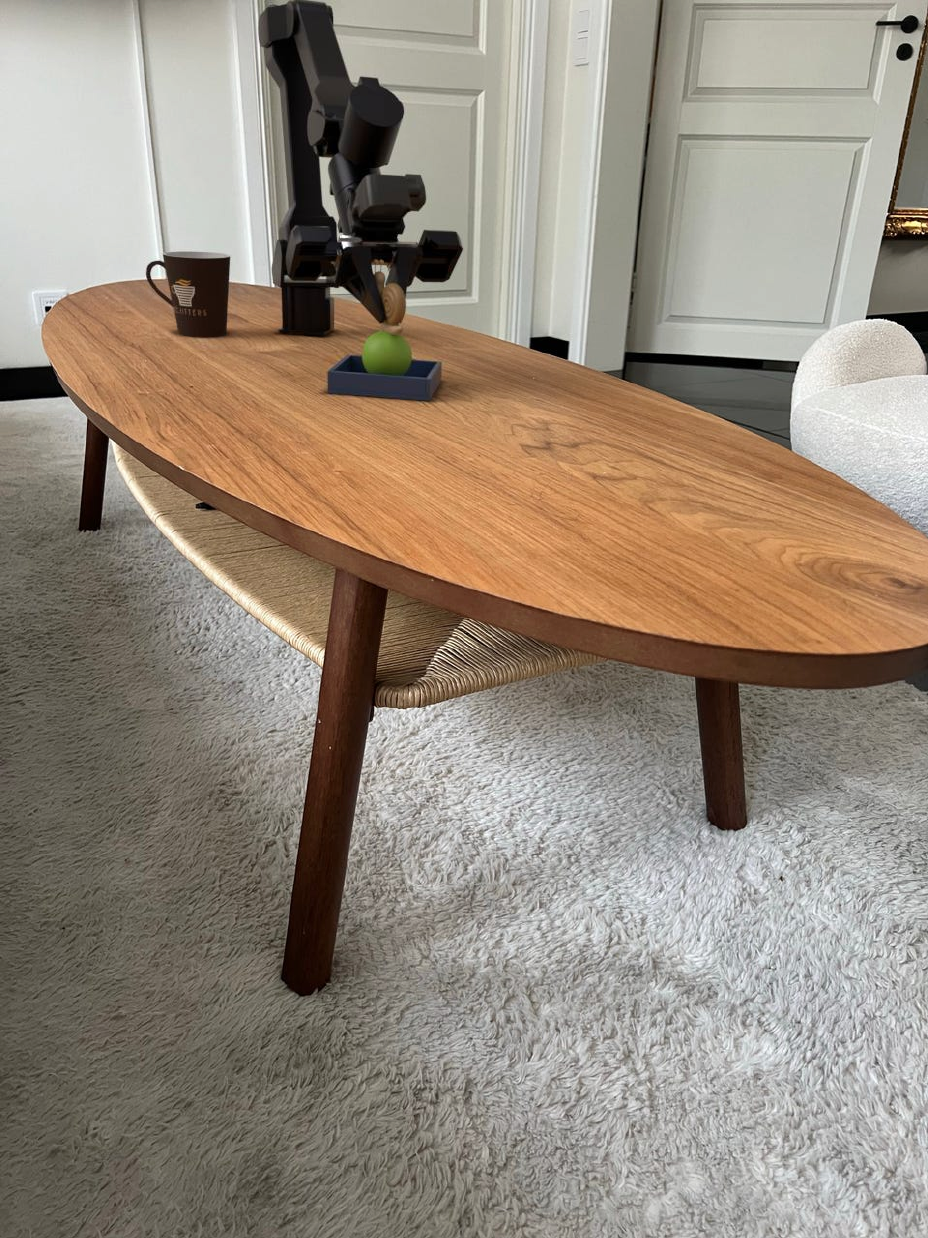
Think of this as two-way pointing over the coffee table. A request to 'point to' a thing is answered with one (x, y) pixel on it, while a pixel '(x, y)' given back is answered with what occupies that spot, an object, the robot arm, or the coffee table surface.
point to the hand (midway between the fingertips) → (391, 320)
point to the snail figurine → (388, 333)
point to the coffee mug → (196, 291)
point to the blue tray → (384, 380)
